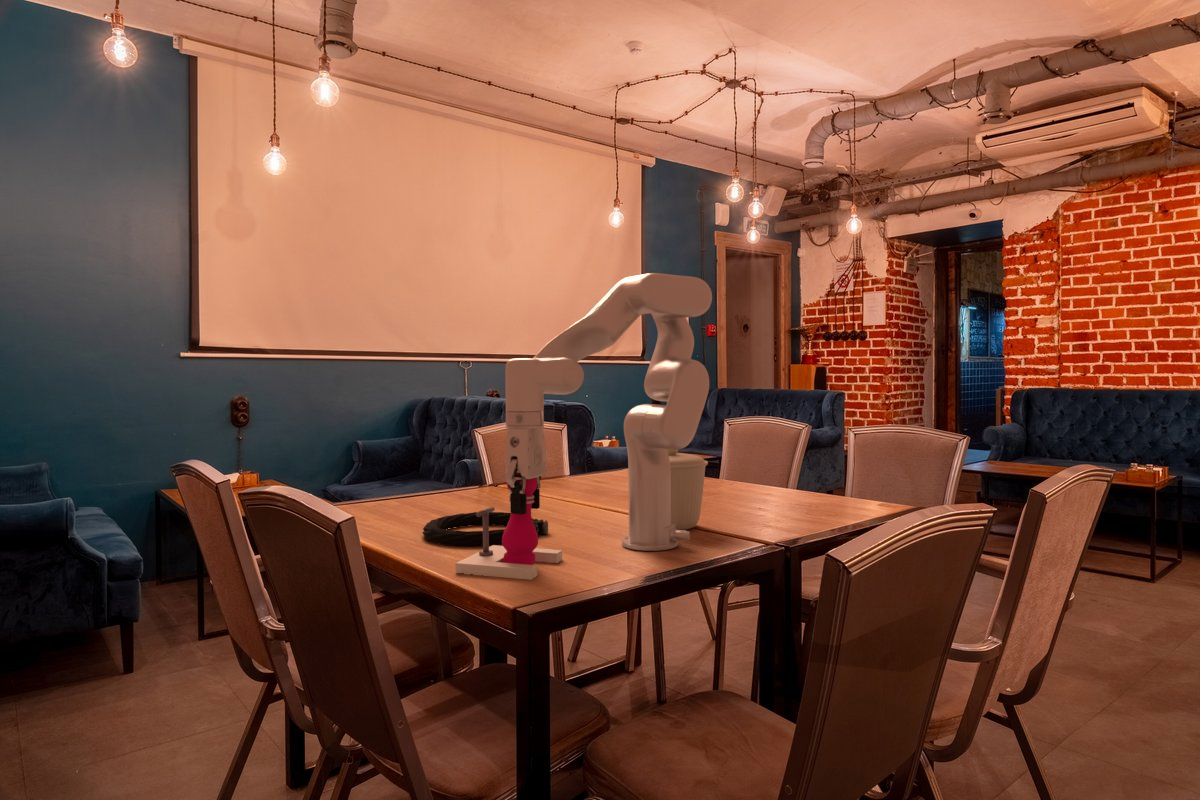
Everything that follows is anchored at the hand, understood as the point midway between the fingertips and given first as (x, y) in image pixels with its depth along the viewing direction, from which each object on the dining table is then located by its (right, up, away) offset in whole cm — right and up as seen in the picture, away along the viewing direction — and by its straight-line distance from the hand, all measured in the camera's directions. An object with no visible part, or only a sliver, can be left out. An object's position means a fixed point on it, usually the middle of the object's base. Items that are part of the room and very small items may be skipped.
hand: (525, 510), depth 152 cm
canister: (+33, -10, +39) cm, 52 cm away
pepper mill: (-1, -11, 0) cm, 11 cm away
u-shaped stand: (-3, -12, +2) cm, 12 cm away
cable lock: (-13, -11, +32) cm, 37 cm away
